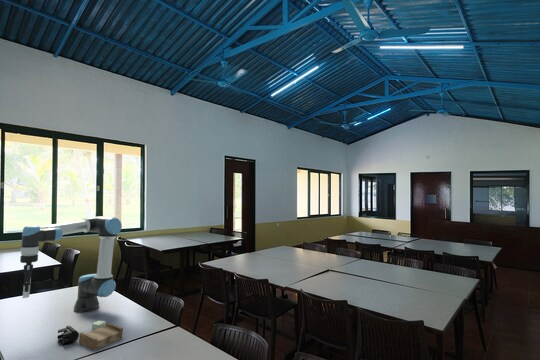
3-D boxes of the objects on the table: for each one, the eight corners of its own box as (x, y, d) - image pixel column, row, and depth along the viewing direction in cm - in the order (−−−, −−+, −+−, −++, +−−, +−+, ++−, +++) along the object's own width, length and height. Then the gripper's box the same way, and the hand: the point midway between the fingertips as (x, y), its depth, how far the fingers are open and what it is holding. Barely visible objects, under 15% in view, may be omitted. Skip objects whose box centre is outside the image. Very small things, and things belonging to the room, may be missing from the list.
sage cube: (98, 328, 180) (98, 320, 180) (105, 330, 179) (105, 321, 179) (91, 332, 175) (92, 323, 175) (98, 333, 174) (99, 324, 174)
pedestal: (107, 331, 176) (107, 322, 176) (122, 338, 169) (122, 328, 170) (78, 343, 162) (79, 332, 162) (94, 350, 155) (95, 339, 156)
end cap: (78, 342, 163) (79, 329, 164) (63, 346, 158) (64, 333, 158) (71, 336, 169) (72, 324, 170) (56, 340, 164) (57, 328, 164)
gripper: (21, 251, 171) (18, 288, 170) (19, 259, 151) (15, 302, 150) (38, 250, 176) (35, 286, 175) (38, 258, 156) (34, 299, 155)
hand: (26, 294), depth 162 cm, fingers open, 13 cm apart
